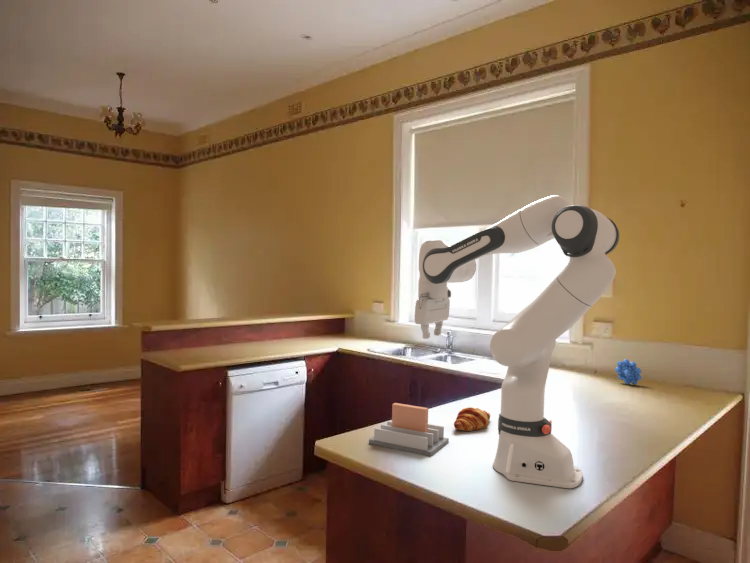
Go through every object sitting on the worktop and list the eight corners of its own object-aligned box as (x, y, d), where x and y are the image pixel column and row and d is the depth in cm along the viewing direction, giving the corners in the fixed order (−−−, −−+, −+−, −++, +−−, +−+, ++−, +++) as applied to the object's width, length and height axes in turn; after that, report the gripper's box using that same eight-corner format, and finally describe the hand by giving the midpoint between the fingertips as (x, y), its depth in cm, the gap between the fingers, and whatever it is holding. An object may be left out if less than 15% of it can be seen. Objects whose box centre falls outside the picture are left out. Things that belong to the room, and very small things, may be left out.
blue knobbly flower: (612, 384, 249) (613, 359, 249) (615, 381, 254) (616, 357, 254) (639, 387, 242) (640, 362, 242) (642, 385, 248) (643, 360, 247)
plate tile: (427, 441, 157) (428, 408, 157) (424, 443, 155) (425, 409, 155) (394, 434, 162) (395, 402, 162) (391, 436, 160) (392, 404, 160)
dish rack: (448, 442, 160) (448, 426, 160) (430, 456, 148) (431, 439, 148) (390, 431, 170) (390, 416, 169) (368, 443, 157) (369, 427, 157)
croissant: (480, 428, 187) (472, 406, 189) (504, 419, 181) (495, 397, 184) (448, 440, 171) (439, 416, 173) (473, 432, 165) (463, 407, 167)
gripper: (429, 293, 152) (428, 341, 152) (453, 291, 170) (452, 334, 170) (409, 293, 155) (409, 339, 155) (434, 291, 173) (434, 333, 173)
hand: (431, 336), depth 163 cm, fingers open, 8 cm apart
